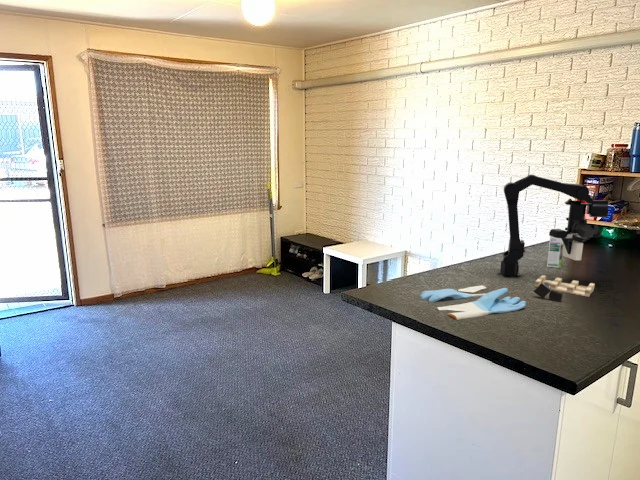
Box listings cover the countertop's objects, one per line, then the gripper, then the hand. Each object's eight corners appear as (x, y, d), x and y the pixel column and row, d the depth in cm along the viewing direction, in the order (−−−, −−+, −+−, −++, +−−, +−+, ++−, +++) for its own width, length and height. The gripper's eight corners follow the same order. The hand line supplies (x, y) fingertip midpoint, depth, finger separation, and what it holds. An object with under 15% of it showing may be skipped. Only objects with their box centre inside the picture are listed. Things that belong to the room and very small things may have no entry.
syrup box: (546, 266, 213) (549, 236, 210) (547, 264, 218) (550, 233, 215) (560, 268, 210) (564, 237, 207) (560, 265, 215) (564, 235, 212)
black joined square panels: (554, 305, 169) (565, 295, 166) (554, 307, 167) (565, 296, 164) (534, 289, 172) (544, 278, 169) (533, 291, 170) (543, 280, 167)
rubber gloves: (410, 296, 173) (411, 279, 172) (482, 287, 184) (483, 271, 183) (456, 321, 148) (457, 302, 147) (535, 309, 159) (537, 291, 158)
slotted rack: (588, 296, 171) (589, 291, 171) (534, 286, 183) (534, 281, 182) (594, 289, 180) (594, 283, 180) (541, 280, 192) (542, 275, 191)
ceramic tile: (575, 260, 185) (577, 243, 184) (562, 255, 193) (564, 239, 191) (581, 260, 185) (583, 243, 184) (568, 255, 193) (570, 239, 192)
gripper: (568, 219, 177) (563, 259, 180) (612, 219, 179) (607, 258, 182) (550, 215, 187) (546, 252, 191) (592, 214, 190) (587, 251, 193)
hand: (572, 253), depth 189 cm, fingers closed on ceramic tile, 2 cm apart
